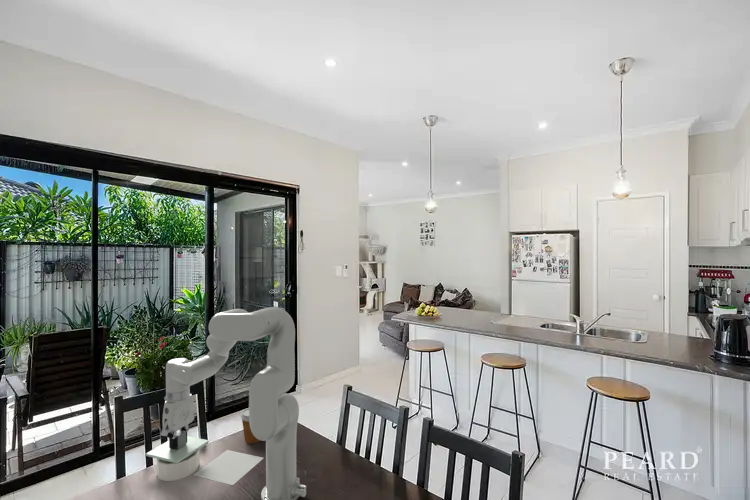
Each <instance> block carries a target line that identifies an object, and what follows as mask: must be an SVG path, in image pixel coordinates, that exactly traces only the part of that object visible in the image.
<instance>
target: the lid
mask: <svg viewBox="0 0 750 500" xmlns="http://www.w3.org/2000/svg"><path fill="white" fill-rule="evenodd" d="M172 434H173V432H172ZM176 438H177V446H178V448H177V449H176V450H175V449H171V448H169V439H168V440H167V441H166V442H164V443H161V444H160V445H158V446H156V447H154V448H153V449H151V450H150V451H148V452H146V453H145V457H149V458H153V459H156V460H157V459H161V460H165V461H169V462H173V463H179V462H180V461H182V460H183V459H185V458H186V457H188V456H189V455H191V454H192V453H194V452H195V451H197V450H198V449H199V450H200V449H201V448H203V447H204V446H206V445H208V444H209V443H210V442H209V439H205V438H199V437H194V436H189V435H187V443H186V431H182V430H180V429H179V430H177V433H176Z"/></svg>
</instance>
